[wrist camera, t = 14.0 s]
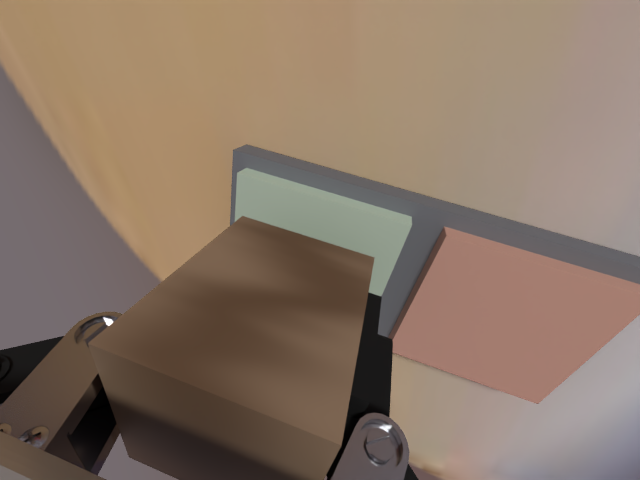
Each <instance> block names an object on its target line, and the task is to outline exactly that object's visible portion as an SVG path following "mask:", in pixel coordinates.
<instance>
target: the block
mask: <svg viewBox="0 0 640 480" xmlns="http://www.w3.org/2000/svg"><path fill="white" fill-rule="evenodd" d="M374 258H375V257H371V256H368V255H365V254H362V253H359V252H356V251H352V250H349V249H346V248H343V247H340V246H337V245H333V244H330V243H327V242H324V241H321V240H318V239H314V238H311V237H308V236H305V235H302V234H299V233H295V232H292V231H289V230H286V229H283V228H280V227H276V226H273V225H270V224H267V223H264V222H261V221H257V220H254V219H251V218H248V217H245V216H242V217H240V218H239V219H238V220H237V221H235V222H234V223H233V224H232V225H231V226H229V227H228V228H227V229H226V230H225V231H223V232H222V233H221V234H220V235H218V236H217V237H216V238H215V239H214V240H212V241H211V242H210V243H209V244H208V245H206V246H205V247H204V248H203V249H201V250H200V251H199V252H198V253H197V254H195V255H194V256H193V257H192V258H191V259H189V260H188V261H187V262H186V263H185V264H183V265H182V266H181V267H180V268H178V269H177V270H176V271H175V272H174V273H172V274H171V275H170V276H169V277H168V278H166V279H165V280H164V281H163V282H161V283H160V284H159V285H158V286H157V287H156V288H154V289H153V290H152V291H151V292H149V293H148V294H147V295H146V296H144V298H142V299H141V300H140V301H138V302H137V303H136V304H135V305H134V306H132V307H131V308H130V309H129V310H128V311H126V312H125V313H124V314H123V315H121V316H120V317H119V318H118V319H117V320H115V321H114V322H113V323H112V324H111V325H109V326H108V327H107V328H106V329H104V330H103V331H102V332H101V333H100V334H98V335H97V336H96V337H95V338H94V339H92V340H91V341H90V342H89V343H88V346H89V348H90V351H91V354H92V357H93V359H94V362H95V365H96V368H97V370H98V373H99V376H100V379H101V381H102V384H103V387H104V390H105V392H106V395H107V398H108V401H109V403H110V406H111V409H112V412H113V414H114V417H115V420H116V423H117V425H118V428H119V431H120V433H121V436H122V439H123V442H124V444H125V447H126V450H127V453H128V455H129V457H130V458H132V459H134V460H137V461H139V462H141V463H143V464H146V465H148V466H150V467H152V468H154V469H157V470H159V471H161V472H163V473H165V474H168V475H170V476H172V477H174V478H177V479H179V480H324V478H325V476H326V474H327V472H328V470H329V469H330V467H331V465H332V463H333V461H334V459H335V457H336V455H337V453H338V451H339V449H340V448H341V446H342V440H343V435H344V429H345V423H346V418H347V412H348V406H349V400H350V395H351V389H352V383H353V378H354V372H355V366H356V361H357V355H358V349H359V344H360V338H361V332H362V327H363V321H364V315H365V310H366V304H367V298H368V292H369V287H370V281H371V275H372V270H373V264H374Z"/></svg>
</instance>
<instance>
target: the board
mask: <svg viewBox="0 0 640 480" xmlns="http://www.w3.org/2000/svg"><path fill="white" fill-rule="evenodd" d="M242 216H245V217H248V218H251V219H254V220H257V221H261V222H264V223H267V224H270V225H273V226H276V227H280V228H283V229H286V230H289V231H292V232H295V233H299V234H302V235H305V236H308V237H311V238H314V239H318V240H321V241H324V242H327V243H330V244H333V245H337V246H340V247H343V248H346V249H349V250H352V251H356V252H359V253H362V254H365V255H368V256H371V257H375V258H374V264H373V270H372V275H371V281H370V287H369V293H372V294H375V295H378V296H381V297H382V300H381V309H380V318H379V326H378V334H379V335H382V336H385V337H388V338H391V339H392V341H393V353H396V354H398V355H401V356H404V357H407V358H410V359H412V360H415V361H418V362H421V363H424V364H426V365H429V366H432V367H435V368H438V369H441V370H443V371H446V372H449V373H452V374H455V375H457V376H460V377H463V378H466V379H469V380H471V381H474V382H477V383H480V384H483V385H486V386H488V387H491V388H494V389H497V390H500V391H502V392H505V393H508V394H511V395H514V396H517V397H519V398H522V399H525V400H528V401H531V402H533V403H536V404H538V403H539V402H541V401H542V400H543V399H544V398H545V397H546V396H547V395H548V394H550V393H551V392H552V391H553V390H554V389H555V388H556V387H558V386H559V385H560V384H561V383H562V382H563V381H564V380H566V379H567V378H568V377H569V376H570V375H571V374H572V373H574V372H575V371H576V370H577V369H578V368H579V367H580V366H581V365H583V364H584V363H585V362H586V361H587V360H588V359H589V358H591V357H592V356H593V355H594V354H595V353H596V352H597V351H599V350H600V349H601V348H602V347H603V346H604V345H605V344H607V343H608V342H609V341H610V340H611V339H612V338H613V337H614V336H616V335H617V334H618V333H619V332H620V331H621V330H622V329H624V328H625V327H626V326H627V325H628V324H629V323H630V322H632V321H633V320H634V319H635V318H636V317H637V316H638V315H640V257H638V256H635V255H631V254H628V253H624V252H621V251H617V250H614V249H610V248H607V247H603V246H600V245H596V244H593V243H589V242H586V241H582V240H579V239H575V238H572V237H568V236H565V235H561V234H558V233H554V232H551V231H547V230H544V229H540V228H537V227H533V226H530V225H526V224H523V223H519V222H516V221H512V220H509V219H505V218H502V217H498V216H495V215H491V214H488V213H484V212H481V211H477V210H474V209H470V208H467V207H463V206H460V205H456V204H453V203H449V202H446V201H442V200H439V199H435V198H432V197H428V196H425V195H421V194H418V193H414V192H411V191H407V190H404V189H400V188H397V187H393V186H390V185H386V184H383V183H379V182H376V181H372V180H369V179H365V178H362V177H358V176H355V175H351V174H348V173H344V172H341V171H337V170H334V169H330V168H327V167H324V166H320V165H317V164H313V163H310V162H306V161H303V160H299V159H296V158H292V157H289V156H285V155H282V154H278V153H275V152H271V151H268V150H264V149H261V148H257V147H254V146H250V145H244V146H242V147H239V148H237V149H234V150H233V167H232V192H231V216H230V226H231V225H232V224H233V223H234V222H235V221H237V220H238V219H239V218H240V217H242Z"/></svg>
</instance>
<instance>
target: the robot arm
mask: <svg viewBox="0 0 640 480" xmlns="http://www.w3.org/2000/svg"><path fill="white" fill-rule="evenodd" d="M381 300H382V297H381V296H378V295H375V294H372V293H369V292H368V298H367V304H366V310H365V315H364V321H363V327H362V332H361V338H360V344H359V349H358V355H357V361H356V366H355V372H354V378H353V383H352V389H351V395H350V400H349V406H348V412H347V418H346V423H345V429H344V435H343V440H342V446H341V448H340V449H339V451H338V453H337V455H336V457H335V459H334V461H333V463H332V465H331V467H330V469H329V470H328V472H327V474H326V476H327V480H418V478H417V477H416V475H415V474H414V472H413V470H412V469H411V467H410V466H409V464H408V461H409V448H408V442H407V440H406V437H405V435H404V433H403V431H402V430H401V429H400V427H399V426H398V424H396V423H395V422H394V421H393V420H392V419H391V418H389V412H390V392H391V372H392V352H393V341H392V339H391V338H388V337H385V336H382V335H379V334H378V326H379V318H380V309H381ZM121 315H122V314H121V313H117V312H102V313H96V314H94V315H91V316H88V317H86V318H84V319H83V320H81V321H79V322H78V323H77V324H76V325H74V326H73V327H72V329H70V330H69V331H68V333H67V334H66V335H65V336H62V337H57V338H53V339H49V340H44V341H40V342H35V343H31V344H26V345H22V346H18V347H13V348H9V349H4V350H0V480H106V479H104V478H101V477H99V476H98V473H99V471H100V470H101V468H102V466H103V464H104V462H105V460H106V458H107V457H108V455H109V453H110V451H111V449H112V447H113V445H114V443H115V441H116V439H117V437H118V436H119V434H120V431H119V428H118V425H117V423H116V420H115V417H114V414H113V412H112V409H111V406H110V403H109V401H108V398H107V395H106V392H105V390H104V387H103V384H102V381H101V379H100V376H99V373H98V370H97V368H96V365H95V362H94V359H93V357H92V354H91V351H90V348H89V346H88V343H89V342H90V341H91V340H92V339H94V338H95V337H96V336H97V335H98V334H100V333H101V332H102V331H103V330H104V329H106V328H107V327H108V326H109V325H111V324H112V323H113V322H114V321H115V320H117V319H118V318H119V317H120V316H121Z"/></svg>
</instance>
